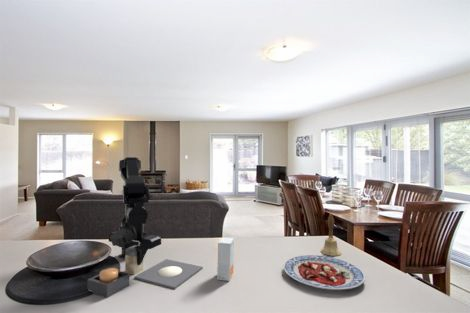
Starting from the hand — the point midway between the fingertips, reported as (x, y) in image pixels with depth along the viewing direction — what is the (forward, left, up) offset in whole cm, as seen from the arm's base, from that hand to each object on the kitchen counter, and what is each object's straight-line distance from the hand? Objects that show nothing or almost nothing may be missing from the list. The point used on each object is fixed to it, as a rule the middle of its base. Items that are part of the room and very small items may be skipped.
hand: (134, 263), depth 90 cm
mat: (+12, +4, -2) cm, 13 cm away
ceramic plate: (+59, +25, -3) cm, 64 cm away
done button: (+2, -12, 0) cm, 12 cm away
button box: (+2, -12, -2) cm, 12 cm away
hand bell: (+60, +49, -3) cm, 78 cm away
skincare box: (+30, +10, -3) cm, 32 cm away
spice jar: (0, 0, -3) cm, 3 cm away
